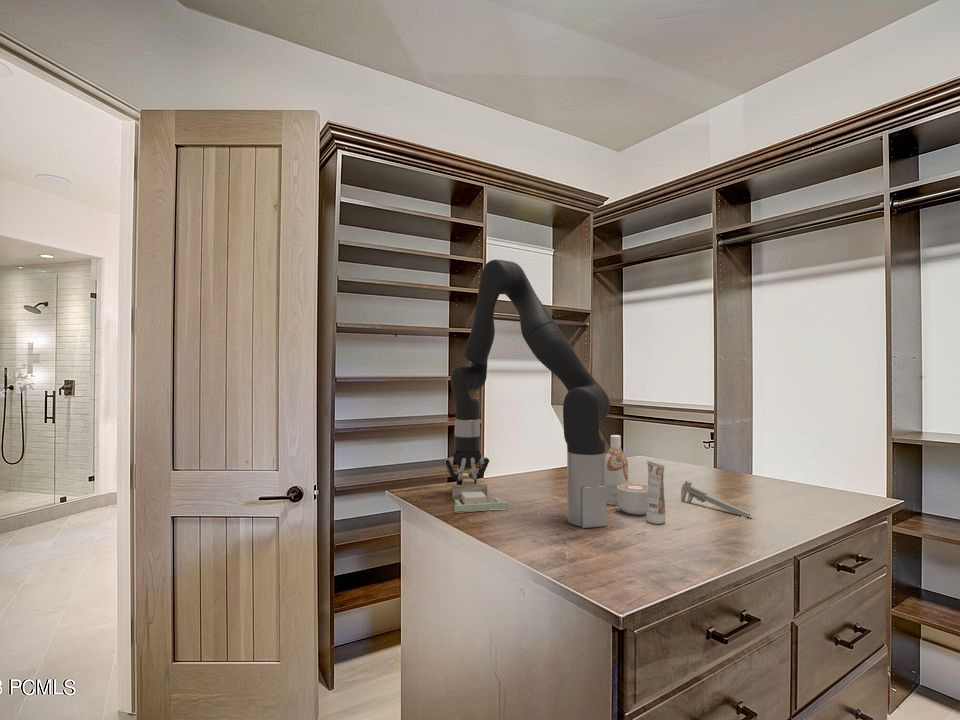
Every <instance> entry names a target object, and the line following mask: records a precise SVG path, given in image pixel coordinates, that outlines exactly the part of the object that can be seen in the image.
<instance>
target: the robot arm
mask: <svg viewBox="0 0 960 720" xmlns="http://www.w3.org/2000/svg"><path fill="white" fill-rule="evenodd" d="M529 280H530V279H529V278H528V277H527V275H526V273H525V271H524V270H523V268H522V267H521V266H520V265H519V264H518V263H516V262H515V261H511V260H509V261H508V260H504V259H491V260H489V261H488V262H486V263H485V265H484V267H483V269H482V271H481V276H480V280H479V286H478V291H477V292H478V294H477V299H476V303H475V311H474V318H473V321H472V322H473V323H472V326H471V330H470V333H469V336H468V340H467V343H466V345H465V349H464V358H465V359H466V360H467V361H469V362H471V365H470V366H457V367H455V368H454V369H453V371H452V372H451V374H450V381H449V382H450V387H451V391H452V396H453V399H454V402H455V422H454V432H453V433H454V440H453V441H454V446H453V447H454V449H453V453H452V456H451V457H448V458H447V457H446V458H445V459H444V460H443V461H444V464H445V466H446V468H447V470H448V473H449V475H450V477H451V479H453V480H456V485H462V476H463V473H465V472H464V471H465V470H466V469H469V471H470V477H471V478H472V479H473V480H474V481H475V484H477V481H478V479H480V478H481V479H482V478H483V476H484V475H485V472H486V470H487V468H488V465H489V463H490V459H489V458H488V457H486V456H482V453H481V452H480V451H481V450H480V449H481V424H480V423H481V422H480V401H479V400H478V399H477V398H472V397H471V396H470V392H469V391H477V390H480V389H482V387H484V385H485V383H486V381H487V377H488V358H489V355H490V353H491V350H492V346H493V344H494V339H495V331H496V328H495V318H494V316H495V307H496V305H497V302H498V298H500V295H505V296H506V297H507V298H508V299H509V300H510V301H511V303H512V305H513V306H514V307H515V309H516V311H517V313H518V315H519V324H520V330H521V335H522V337H523V340H524V341H525V343H526V345H527V346H528V348H529V349H530V351H531V352H532V354H533V355H534V357H535V358H536V359H537V360H538V361H539V362H540V363H541V364H542V365H543V366H544V367H545V368H546V369H548V370H549V371H550V372H551V374H552V373H553V375H554V376H556V377H557V378H558V380H560V381H561V382H562V384H563V385H564V387H565V389H566V390H567V393H566V394H565V397H564V400H563V403H562V404H563V405H562V422H563V423H562V424H563V435H564V436H563V438H564V441H565V444H566V450H567V451H566V452H567V453H566V457H567V458H566V461H567V462H566V464H567V465H566V466H567V468H566V472H567V475H566V476H567V477H566V480H567V481H566V484H567V485H566V491H567V493H566V494H567V496H566V498H567V500H566V502H567V503H566V505H567V507H566V510H567V512H566V513H567V523H569V524H571V525H573V526H577V527H580V528H583V529H586V528H599V527H601V528H602V527H607V503H606V475H605V464H606V458H605V456H606V453H607V452H606V441H605V440H604V439H603V438H602V437H601V434H600V422H602V421H603V420H605V419H606V418H607V416H608V415H609V414H610V409H611V403H610V398H609V397H608V394H607V393H606V391H605V390H604V388H603V387H602V386H601V385H600V384H599V383H598V382H597V381H596V380H595V378H594V377H593V376H592V374H591V373H590V372H589V371H588V369H587V368H586V367H585V366H584V364H583V363H582V361H581V359H580V358H579V356H578V355H577V353H576V352H575V350H574V349H573V348H572V346H571V344H570V342H569V341H568V340H567V338H566V336H565V335H564V333H563V332H562V330H561V328H559V325H557V322H556V321H555V320H554V319H553V318H552V316H551V315H550V313H549V312H548V310H547V308H546V307H545V305H544V304H543V302H542V301H541V300H540V298H539V297H538V295H537V294H536V292H535V290H534V288H533V286H532V285H531V282H530V281H529ZM479 461H480V465H479V468H478V470H477V468H476V466H477V465H478V463H479ZM454 462H455V464H457V472H456V473H455V471H454V468H453V465H454Z"/></svg>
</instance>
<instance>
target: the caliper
mask: <svg viewBox="0 0 960 720" xmlns="http://www.w3.org/2000/svg"><path fill="white" fill-rule="evenodd" d="M692 484H693V483H692V482H689V480H685V482H684V483H682V485H681V490H680V499H681V502H683V503H684V502H686V504H690V503H692V501H693V500H694V499H695V500H696V501H699V502H701V503H705V502H707V503H710V504H712V505H714V506H717V507H719V508H721V509H723V510H725V511H728V512H729V513H732V514H735V515H736V514H737V515H736V516H739V515H741V516H744V517H749V518H748V519H750V518H755V517H754V516H753V515H751V512H748V511H746V510H743V509H741V508H740V507H736V506H734V505H732V504H730V503H727V502H725V501H723V500H721V499H718V498H716V497H714V496H711V495H709V494H708V493H707V492H706V491H704V490H701V489H699V488H697V487H695V486H692ZM686 497H687V499H686ZM741 516H740V517H741ZM744 517H743V518H744Z"/></svg>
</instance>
